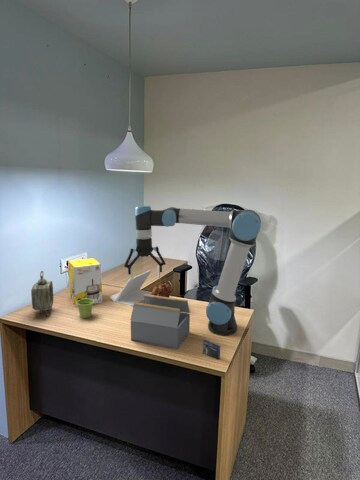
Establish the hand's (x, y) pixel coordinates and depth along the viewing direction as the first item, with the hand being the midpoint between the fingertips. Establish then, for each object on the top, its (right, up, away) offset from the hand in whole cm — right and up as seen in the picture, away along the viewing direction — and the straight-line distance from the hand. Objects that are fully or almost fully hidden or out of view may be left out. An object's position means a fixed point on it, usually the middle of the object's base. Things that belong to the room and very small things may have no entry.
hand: (145, 279), depth 166 cm
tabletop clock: (-61, -23, +26) cm, 70 cm away
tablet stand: (-14, -18, +52) cm, 57 cm away
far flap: (+10, -13, +3) cm, 17 cm away
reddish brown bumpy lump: (+6, -22, +33) cm, 40 cm away
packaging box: (-43, -19, +45) cm, 65 cm away
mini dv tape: (+31, -32, -18) cm, 48 cm away
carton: (+8, -28, 0) cm, 29 cm away
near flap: (+6, -15, -9) cm, 19 cm away
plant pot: (-36, -24, +22) cm, 48 cm away
